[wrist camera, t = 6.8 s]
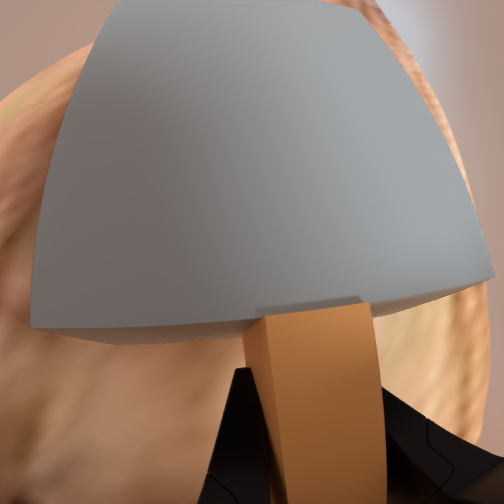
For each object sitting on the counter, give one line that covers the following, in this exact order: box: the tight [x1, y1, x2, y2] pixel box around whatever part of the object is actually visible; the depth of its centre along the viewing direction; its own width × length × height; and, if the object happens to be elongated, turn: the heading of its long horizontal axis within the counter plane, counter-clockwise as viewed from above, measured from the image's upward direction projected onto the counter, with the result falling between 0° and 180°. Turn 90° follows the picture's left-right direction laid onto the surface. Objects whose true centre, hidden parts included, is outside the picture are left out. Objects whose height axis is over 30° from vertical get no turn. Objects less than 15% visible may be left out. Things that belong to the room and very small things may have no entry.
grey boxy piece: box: [30, 0, 495, 504], centre depth 9 cm, size 18×11×6 cm, turn 7°
